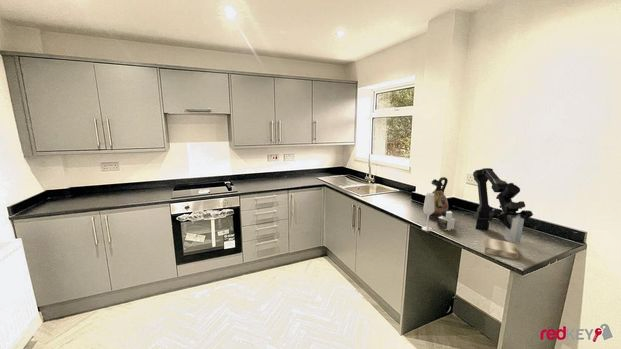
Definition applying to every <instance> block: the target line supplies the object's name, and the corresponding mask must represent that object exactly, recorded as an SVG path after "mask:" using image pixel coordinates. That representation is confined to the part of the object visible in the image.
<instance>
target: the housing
mask: <svg viewBox="0 0 621 349" xmlns="http://www.w3.org/2000/svg"><path fill="white" fill-rule="evenodd" d="M507 219H508V222H509V224H510V229H508V228H507V227H506V226H505V230H504V234H503V235H504V236H503V238H504V239H505V240H506V241H507V242H510V243H521V241H522V240H521V238H522V234H523V228H524V223H525V219H524V218H522V217H520V216H518V215H508V216H507Z"/></svg>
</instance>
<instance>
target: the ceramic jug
mask: <svg viewBox="0 0 621 349" xmlns="http://www.w3.org/2000/svg"><path fill="white" fill-rule="evenodd" d="M430 183H431V185H432V186H435V187H436V188H435V189H434V190H433V191H432V192H431V193H433V194H434V213H432V214H431V215H429V217H430V216H432V217H431V218H433V217H436V218H435V219H438V217H442V211H443V210H449V201H448V198H447V196H446V195H445V189H446V187H447V184H448V178H447V177H440V178H439V179H438V180H437V179H433V180H431V182H430Z"/></svg>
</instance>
